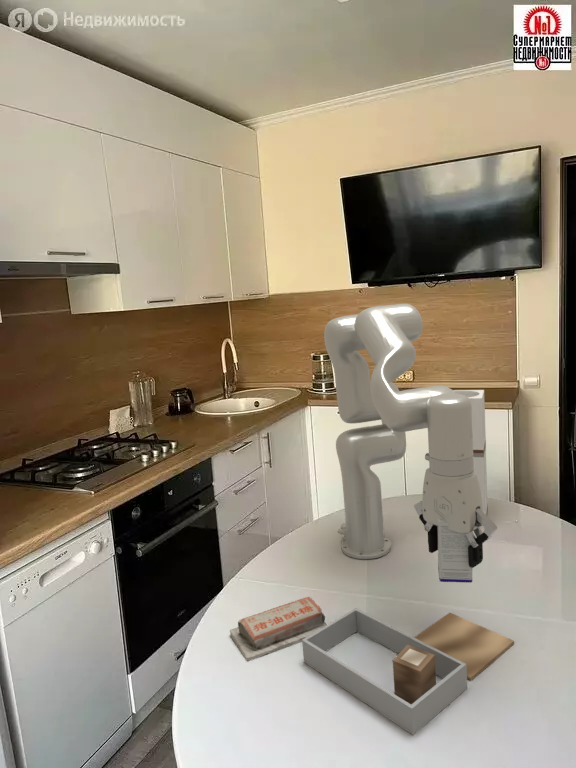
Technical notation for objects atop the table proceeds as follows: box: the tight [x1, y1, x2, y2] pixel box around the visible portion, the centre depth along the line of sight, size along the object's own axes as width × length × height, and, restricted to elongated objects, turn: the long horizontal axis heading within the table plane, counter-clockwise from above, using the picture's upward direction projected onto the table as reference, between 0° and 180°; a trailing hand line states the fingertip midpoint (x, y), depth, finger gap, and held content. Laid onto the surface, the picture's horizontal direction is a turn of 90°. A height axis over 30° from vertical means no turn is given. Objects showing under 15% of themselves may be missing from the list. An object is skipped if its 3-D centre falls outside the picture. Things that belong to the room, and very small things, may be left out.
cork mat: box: [413, 612, 515, 682], centre depth 110 cm, size 14×14×1 cm
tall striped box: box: [452, 389, 489, 517], centre depth 163 cm, size 11×11×35 cm
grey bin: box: [301, 607, 468, 735], centre depth 104 cm, size 25×14×4 cm, turn 40°
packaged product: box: [229, 596, 328, 662], centre depth 119 cm, size 18×5×10 cm
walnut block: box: [392, 645, 437, 704], centre depth 98 cm, size 5×5×7 cm
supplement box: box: [437, 519, 473, 584], centre depth 107 cm, size 6×6×12 cm
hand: (454, 556), depth 107 cm, fingers closed on supplement box, 7 cm apart
